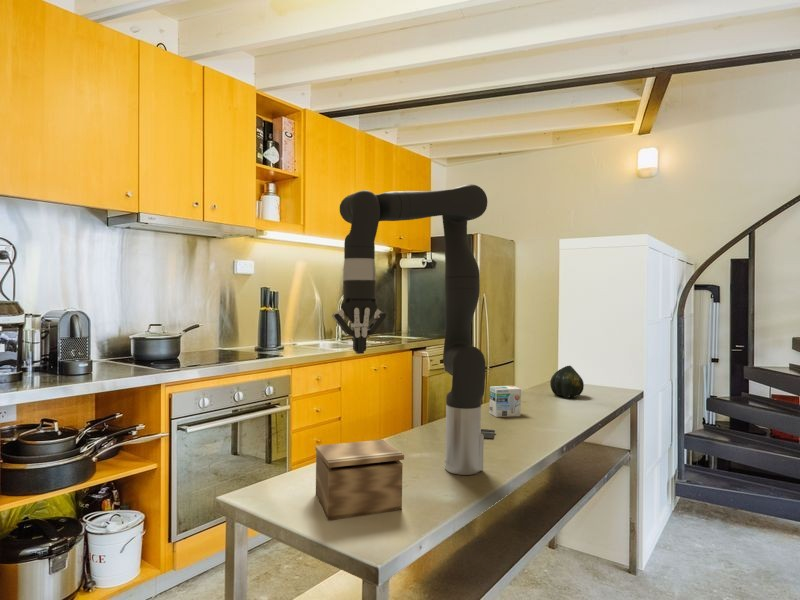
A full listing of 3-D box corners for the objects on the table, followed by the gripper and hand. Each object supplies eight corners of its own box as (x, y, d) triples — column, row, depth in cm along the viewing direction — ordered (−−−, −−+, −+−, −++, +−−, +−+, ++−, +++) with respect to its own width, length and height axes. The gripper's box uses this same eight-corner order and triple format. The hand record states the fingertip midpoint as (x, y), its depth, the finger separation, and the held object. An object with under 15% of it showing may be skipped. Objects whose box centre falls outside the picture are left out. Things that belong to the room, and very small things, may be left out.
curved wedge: (455, 431, 170) (455, 426, 170) (495, 434, 167) (495, 429, 167) (451, 437, 162) (451, 433, 162) (493, 441, 159) (493, 436, 159)
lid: (383, 443, 119) (383, 438, 119) (404, 459, 106) (404, 454, 106) (315, 450, 114) (315, 445, 114) (328, 467, 100) (328, 462, 100)
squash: (552, 387, 221) (573, 362, 222) (539, 383, 236) (560, 359, 237) (574, 408, 222) (596, 383, 223) (561, 402, 237) (581, 379, 238)
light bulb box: (495, 417, 188) (496, 389, 188) (488, 413, 195) (489, 386, 194) (521, 416, 191) (521, 388, 190) (513, 412, 197) (513, 385, 197)
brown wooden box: (381, 485, 119) (382, 444, 119) (401, 509, 106) (402, 463, 106) (315, 494, 114) (316, 450, 114) (328, 520, 101) (329, 471, 100)
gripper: (381, 279, 120) (381, 350, 120) (327, 278, 115) (327, 352, 116) (391, 278, 113) (391, 354, 113) (335, 278, 108) (335, 356, 109)
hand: (359, 353), depth 115 cm, fingers closed
